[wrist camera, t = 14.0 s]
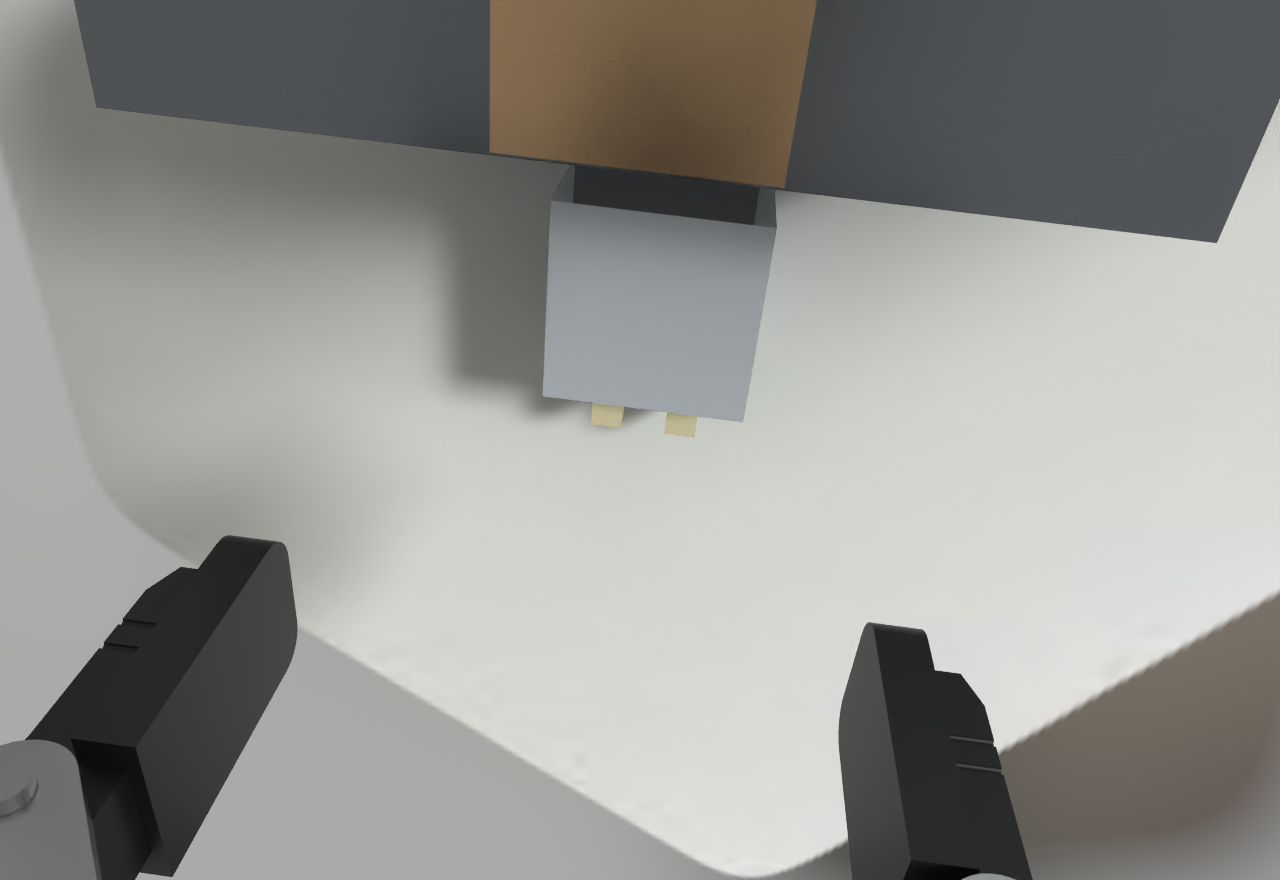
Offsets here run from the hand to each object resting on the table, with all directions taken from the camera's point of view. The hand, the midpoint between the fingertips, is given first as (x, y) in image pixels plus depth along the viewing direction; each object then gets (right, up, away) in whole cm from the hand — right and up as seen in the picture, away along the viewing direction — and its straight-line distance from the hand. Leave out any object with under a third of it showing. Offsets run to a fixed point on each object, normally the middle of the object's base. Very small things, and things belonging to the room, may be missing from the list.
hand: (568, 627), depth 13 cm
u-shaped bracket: (+2, +14, +8) cm, 16 cm away
